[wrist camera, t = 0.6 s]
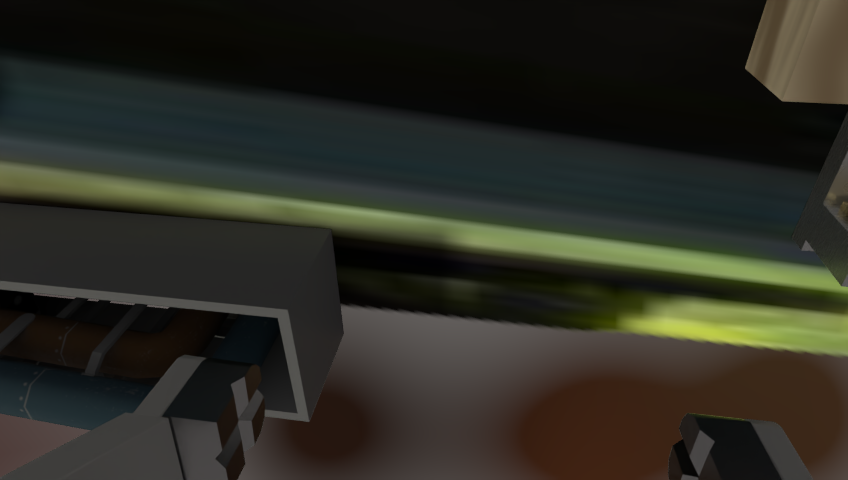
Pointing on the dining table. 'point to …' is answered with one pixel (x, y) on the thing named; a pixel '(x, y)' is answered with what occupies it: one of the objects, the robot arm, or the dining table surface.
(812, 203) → the vise base
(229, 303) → the tool tote
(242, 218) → the dining table surface
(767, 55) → the maple block
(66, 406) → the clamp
